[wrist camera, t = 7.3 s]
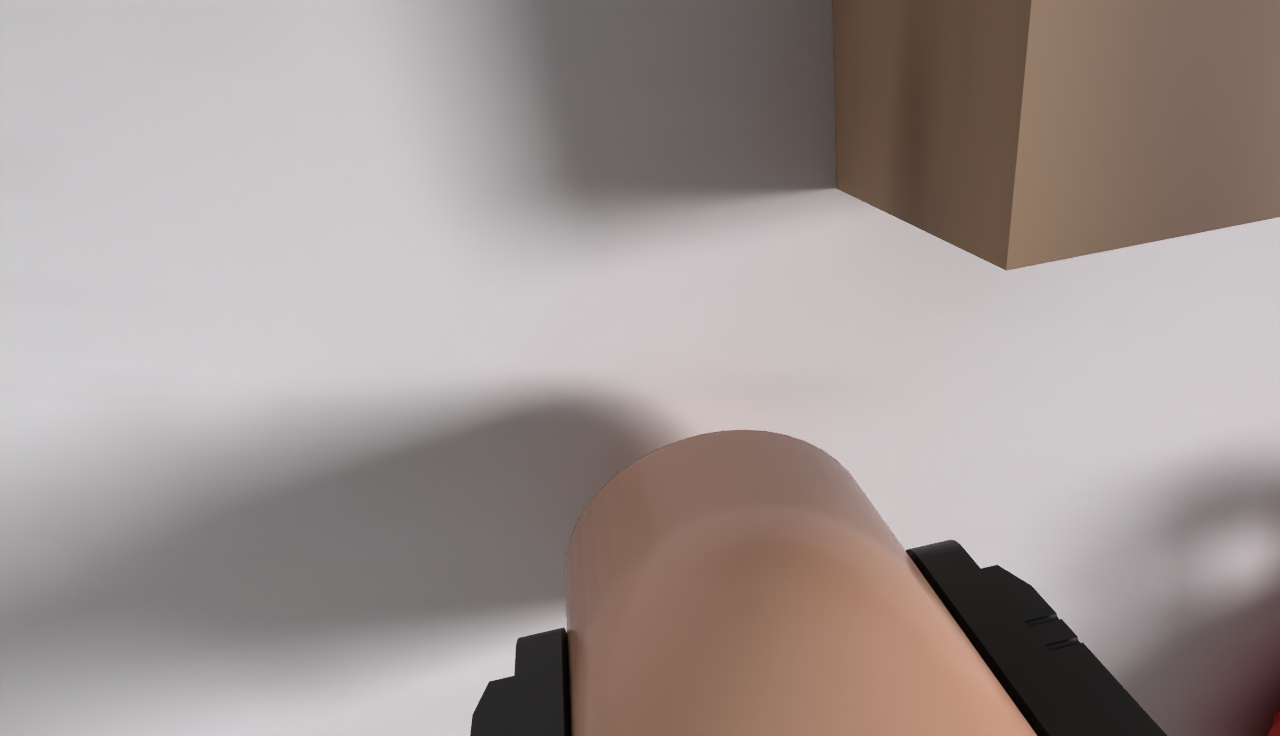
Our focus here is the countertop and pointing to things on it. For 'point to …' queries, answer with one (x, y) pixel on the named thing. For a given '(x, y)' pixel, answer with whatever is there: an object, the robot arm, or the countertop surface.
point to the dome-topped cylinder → (760, 606)
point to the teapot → (1275, 725)
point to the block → (1059, 119)
